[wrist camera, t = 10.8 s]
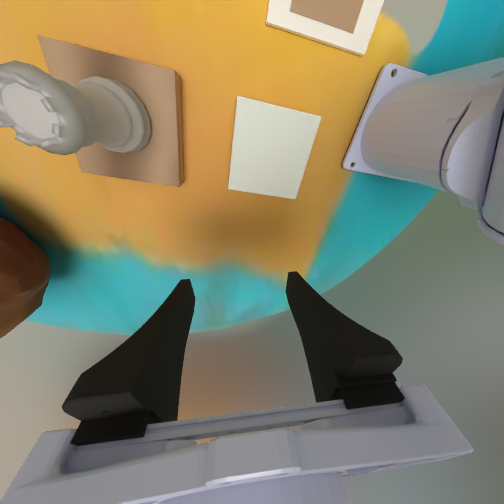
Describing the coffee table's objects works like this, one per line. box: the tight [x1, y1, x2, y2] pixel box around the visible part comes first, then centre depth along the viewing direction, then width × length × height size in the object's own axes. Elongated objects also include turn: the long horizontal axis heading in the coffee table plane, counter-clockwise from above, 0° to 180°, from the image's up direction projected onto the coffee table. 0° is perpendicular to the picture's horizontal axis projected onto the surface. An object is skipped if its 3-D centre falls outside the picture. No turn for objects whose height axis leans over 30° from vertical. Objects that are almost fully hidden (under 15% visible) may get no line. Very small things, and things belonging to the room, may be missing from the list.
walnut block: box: [37, 35, 184, 187], centre depth 15 cm, size 8×8×2 cm
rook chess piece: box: [0, 61, 151, 155], centre depth 10 cm, size 4×4×8 cm
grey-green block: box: [228, 96, 321, 199], centre depth 17 cm, size 7×7×2 cm
